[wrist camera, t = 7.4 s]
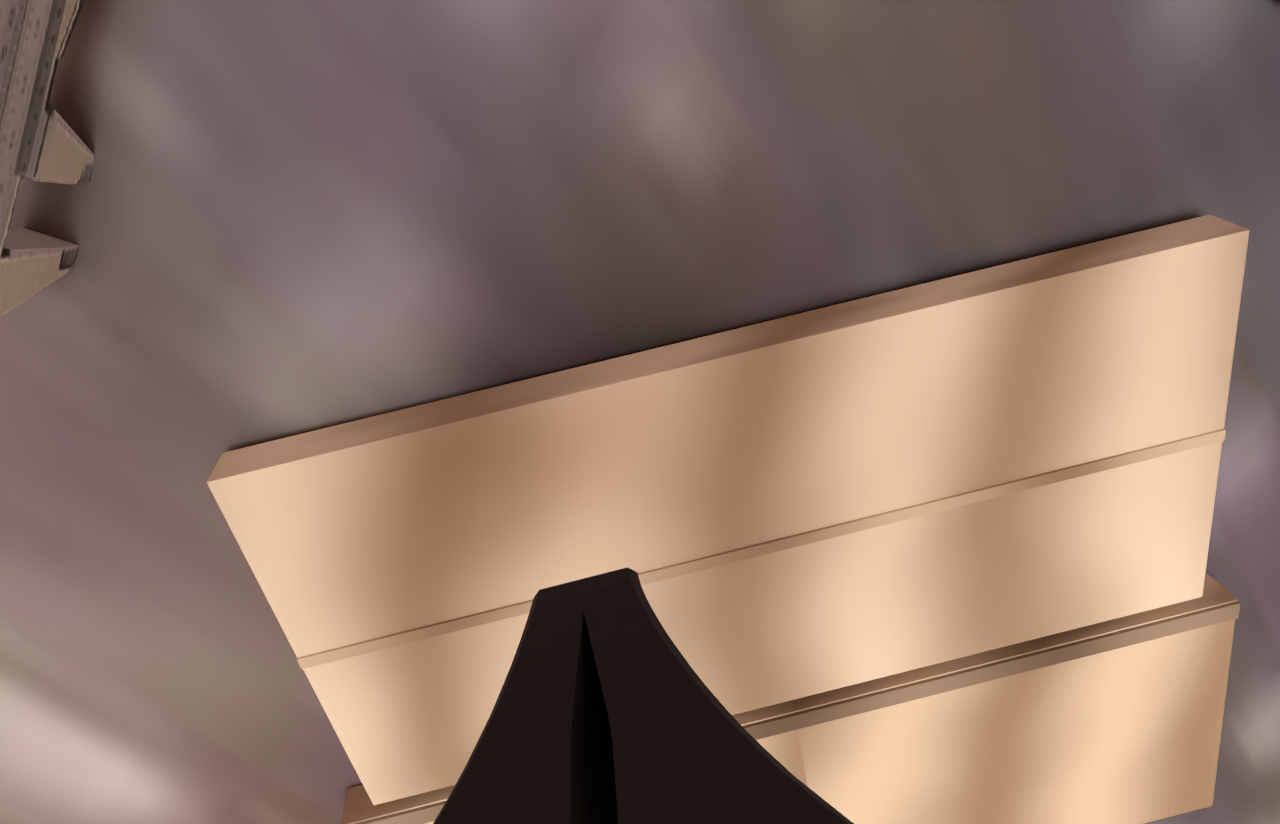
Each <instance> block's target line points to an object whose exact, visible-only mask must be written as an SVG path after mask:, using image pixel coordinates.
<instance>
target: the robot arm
mask: <svg viewBox="0 0 1280 824" xmlns="http://www.w3.org/2000/svg"><path fill="white" fill-rule="evenodd" d="M433 824H854V823H853V822H851V821H850V820H849V819H847V818H846V817H845V816H844V815H842V814H841V813H840V812H839V811H837V810H836V809H835V808H834V807H832V806H831V805H830V804H829V803H827V802H826V801H825V800H824V799H822V798H821V797H820V796H819V795H817V794H816V793H815V792H814V791H812V790H811V789H810V788H809V787H807V786H806V785H805V784H804V783H802V782H801V781H800V780H799V779H797V778H796V777H795V776H794V775H793V774H792V773H791V772H790V771H788V770H787V769H786V768H785V767H784V766H783V765H782V764H781V763H780V762H779V761H777V760H776V759H775V758H774V757H773V756H772V755H771V754H770V753H769V752H768V751H767V750H766V749H764V748H763V747H762V746H761V745H760V744H759V743H758V742H757V741H756V740H755V739H754V738H753V737H752V736H751V735H750V734H749V733H748V732H747V731H746V730H745V729H744V728H743V727H742V726H741V725H740V723H739V722H738V721H737V720H736V719H735V718H734V717H733V716H732V715H731V714H730V713H729V712H728V711H727V709H726V708H725V707H724V706H723V705H722V704H721V703H720V702H719V700H718V699H717V698H716V697H715V696H714V694H713V693H712V692H711V691H710V690H709V689H708V687H707V686H706V685H705V684H704V683H703V681H702V680H701V679H700V678H699V676H698V675H697V674H696V673H695V671H694V670H693V669H692V668H691V666H690V665H689V664H688V662H687V661H686V659H685V658H684V657H683V655H682V654H681V652H680V651H679V650H678V648H677V647H676V646H675V644H674V643H673V641H672V640H671V639H670V637H669V636H668V634H667V633H666V631H665V629H664V628H663V626H662V625H661V623H660V621H659V620H658V618H657V616H656V615H655V613H654V611H653V610H652V608H651V606H650V604H649V602H648V600H647V598H646V596H645V594H644V591H643V589H642V586H641V584H640V580H639V576H638V572H636V571H634V570H632V569H630V568H628V567H627V568H623V569H619V570H615V571H611V572H607V573H603V574H599V575H595V576H592V577H588V578H584V579H580V580H576V581H572V582H568V583H564V584H560V585H556V586H552V587H548V588H544V589H540V590H539V591H538V592H537V594H536V595H535V597H534V598H533V601H532V605H531V609H530V612H529V615H528V619H527V622H526V625H525V628H524V631H523V634H522V637H521V640H520V643H519V645H518V648H517V651H516V654H515V656H514V659H513V662H512V664H511V667H510V669H509V672H508V674H507V677H506V679H505V681H504V684H503V686H502V689H501V691H500V694H499V696H498V698H497V701H496V703H495V706H494V708H493V710H492V712H491V715H490V717H489V719H488V721H487V723H486V725H485V727H484V729H483V731H482V733H481V736H480V738H479V740H478V742H477V744H476V746H475V748H474V750H473V752H472V754H471V756H470V758H469V760H468V762H467V764H466V766H465V768H464V770H463V772H462V774H461V776H460V777H459V779H458V781H457V783H456V785H455V787H454V788H453V790H452V792H451V794H450V796H449V797H448V799H447V801H446V803H445V804H444V806H443V808H442V809H441V811H440V813H439V814H438V816H437V818H436V819H435V821H434V823H433Z"/></svg>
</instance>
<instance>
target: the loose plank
mask: <svg viewBox="0 0 1280 824" xmlns="http://www.w3.org/2000/svg"><path fill="white" fill-rule="evenodd" d="M1248 238H1249V229H1246V228H1244V227H1241V226H1238V225H1236V224H1233V223H1231V222H1228V221H1225V220H1223V219H1220V218H1218V217H1215V216H1212V215H1206V216H1201V217H1197V218H1193V219H1189V220H1185V221H1181V222H1177V223H1172V224H1168V225H1164V226H1160V227H1156V228H1152V229H1148V230H1143V231H1139V232H1135V233H1131V234H1127V235H1123V236H1119V237H1114V238H1110V239H1106V240H1102V241H1098V242H1094V243H1090V244H1085V245H1081V246H1077V247H1073V248H1069V249H1065V250H1061V251H1056V252H1052V253H1048V254H1044V255H1040V256H1036V257H1032V258H1027V259H1023V260H1019V261H1015V262H1011V263H1007V264H1003V265H998V266H994V267H990V268H986V269H982V270H978V271H974V272H970V273H965V274H961V275H957V276H953V277H949V278H945V279H941V280H936V281H932V282H928V283H924V284H920V285H916V286H912V287H907V288H903V289H899V290H895V291H891V292H887V293H883V294H878V295H874V296H870V297H866V298H862V299H858V300H854V301H849V302H845V303H841V304H837V305H833V306H829V307H825V308H820V309H816V310H812V311H808V312H804V313H800V314H796V315H791V316H787V317H783V318H779V319H775V320H771V321H767V322H762V323H758V324H754V325H750V326H746V327H742V328H738V329H733V330H729V331H725V332H721V333H717V334H713V335H709V336H704V337H700V338H696V339H692V340H688V341H684V342H680V343H675V344H671V345H667V346H663V347H659V348H655V349H651V350H646V351H642V352H638V353H634V354H630V355H626V356H622V357H617V358H613V359H609V360H605V361H601V362H597V363H593V364H588V365H584V366H580V367H576V368H572V369H568V370H564V371H559V372H555V373H551V374H547V375H543V376H539V377H535V378H530V379H526V380H522V381H518V382H514V383H510V384H506V385H501V386H497V387H493V388H489V389H485V390H481V391H477V392H472V393H468V394H464V395H460V396H456V397H452V398H448V399H443V400H439V401H435V402H431V403H427V404H423V405H419V406H414V407H410V408H406V409H402V410H398V411H394V412H390V413H385V414H381V415H377V416H373V417H369V418H365V419H361V420H356V421H352V422H348V423H344V424H340V425H336V426H332V427H327V428H323V429H319V430H315V431H311V432H307V433H303V434H298V435H294V436H290V437H286V438H282V439H278V440H274V441H269V442H265V443H261V444H257V445H253V446H249V447H245V448H240V449H236V450H232V451H228V452H224V453H222V455H221V457H220V459H219V461H218V462H217V464H216V466H215V468H214V470H213V472H212V473H211V475H210V477H209V479H208V481H207V484H208V486H209V488H210V490H211V492H212V494H213V496H214V498H215V500H216V501H217V503H218V505H219V507H220V509H221V511H222V513H223V515H224V517H225V519H226V521H227V523H228V525H229V527H230V529H231V530H232V532H233V534H234V536H235V538H236V540H237V542H238V544H239V546H240V548H241V550H242V552H243V554H244V556H245V558H246V559H247V561H248V563H249V565H250V567H251V569H252V571H253V573H254V575H255V577H256V579H257V581H258V583H259V585H260V587H261V589H262V590H263V592H264V594H265V596H266V598H267V600H268V602H269V604H270V606H271V608H272V610H273V612H274V614H275V616H276V618H277V619H278V621H279V623H280V625H281V627H282V629H283V631H284V633H285V635H286V637H287V639H288V641H289V643H290V645H291V647H292V648H293V650H294V652H295V654H296V656H297V661H298V663H299V665H300V667H301V669H303V670H304V672H305V674H306V676H307V677H308V679H309V681H310V683H311V685H312V687H313V689H314V691H315V693H316V695H317V697H318V699H319V701H320V703H321V705H322V706H323V708H324V710H325V712H326V714H327V716H328V718H329V720H330V722H331V724H332V726H333V728H334V730H335V732H336V734H337V735H338V737H339V739H340V741H341V743H342V745H343V747H344V749H345V751H346V753H347V755H348V757H349V759H350V761H351V763H352V765H353V766H354V768H355V770H356V772H357V774H358V776H359V778H360V780H361V782H362V784H363V786H364V788H365V790H366V792H367V794H368V795H369V797H370V799H371V801H372V803H373V805H377V804H381V803H385V802H389V801H393V800H397V799H401V798H405V797H409V796H413V795H417V794H421V793H425V792H429V791H433V790H437V789H441V788H445V787H449V786H453V785H456V783H457V781H458V779H459V777H460V776H461V774H462V772H463V770H464V768H465V766H466V764H467V762H468V760H469V758H470V756H471V754H472V752H473V750H474V748H475V746H476V744H477V742H478V740H479V738H480V736H481V733H482V731H483V729H484V727H485V725H486V723H487V721H488V719H489V717H490V715H491V712H492V710H493V708H494V706H495V703H496V701H497V698H498V696H499V694H500V691H501V689H502V686H503V684H504V681H505V679H506V677H507V674H508V672H509V669H510V667H511V664H512V662H513V659H514V656H515V654H516V651H517V648H518V645H519V643H520V640H521V637H522V634H523V631H524V628H525V625H526V622H527V619H528V615H529V612H530V609H531V605H532V601H533V598H534V597H535V595H536V594H537V592H538V591H539V590H540V589H544V588H548V587H552V586H556V585H560V584H564V583H568V582H572V581H576V580H580V579H584V578H588V577H592V576H595V575H599V574H603V573H607V572H611V571H615V570H619V569H623V568H627V567H628V568H630V569H632V570H634V571H636V572H638V576H639V580H640V584H641V586H642V589H643V591H644V594H645V596H646V598H647V600H648V602H649V604H650V606H651V608H652V610H653V611H654V613H655V615H656V616H657V618H658V620H659V621H660V623H661V625H662V626H663V628H664V629H665V631H666V633H667V634H668V636H669V637H670V639H671V640H672V641H673V643H674V644H675V646H676V647H677V648H678V650H679V651H680V652H681V654H682V655H683V657H684V658H685V659H686V661H687V662H688V664H689V665H690V666H691V668H692V669H693V670H694V671H695V673H696V674H697V675H698V676H699V678H700V679H701V680H702V681H703V683H704V684H705V685H706V686H707V687H708V689H709V690H710V691H711V692H712V693H713V694H714V696H715V697H716V698H717V699H718V700H719V702H720V703H721V704H722V705H723V706H724V707H725V708H726V709H727V711H728V712H729V713H730V714H731V715H735V714H739V713H743V712H747V711H751V710H755V709H759V708H763V707H767V706H771V705H775V704H779V703H783V702H787V701H791V700H795V699H799V698H803V697H806V696H810V695H814V694H818V693H822V692H826V691H830V690H834V689H838V688H842V687H846V686H850V685H854V684H858V683H862V682H866V681H870V680H874V679H878V678H882V677H886V676H890V675H894V674H898V673H902V672H906V671H910V670H914V669H918V668H922V667H926V666H930V665H934V664H938V663H942V662H946V661H950V660H953V659H957V658H961V657H965V656H969V655H973V654H977V653H981V652H985V651H989V650H993V649H997V648H1001V647H1005V646H1009V645H1013V644H1017V643H1021V642H1025V641H1029V640H1033V639H1037V638H1041V637H1045V636H1049V635H1053V634H1057V633H1061V632H1065V631H1069V630H1073V629H1077V628H1081V627H1085V626H1089V625H1093V624H1096V623H1100V622H1104V621H1108V620H1112V619H1116V618H1120V617H1124V616H1128V615H1132V614H1136V613H1140V612H1144V611H1148V610H1152V609H1156V608H1160V607H1164V606H1168V605H1172V604H1176V603H1180V602H1184V601H1188V600H1192V599H1196V598H1200V597H1202V595H1203V587H1204V579H1205V572H1206V564H1207V556H1208V548H1209V540H1210V533H1211V525H1212V517H1213V509H1214V502H1215V494H1216V486H1217V478H1218V471H1219V463H1220V455H1221V447H1222V441H1225V434H1226V430H1225V429H1224V424H1225V416H1226V409H1227V401H1228V393H1229V385H1230V378H1231V370H1232V362H1233V354H1234V346H1235V339H1236V331H1237V323H1238V315H1239V308H1240V300H1241V292H1242V284H1243V277H1244V269H1245V261H1246V253H1247V246H1248Z"/></svg>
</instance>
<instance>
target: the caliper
mask: <svg viewBox="0 0 1280 824" xmlns="http://www.w3.org/2000/svg"><path fill="white" fill-rule="evenodd" d="M83 2H84V0H0V317H2V316H3V315H5V314H6V313H8V312H9V311H11V310H12V309H14V308H16V307H17V306H19V305H20V304H22V303H23V302H25V301H26V300H28V299H30V298H31V297H33V296H34V295H36V294H37V293H39V292H40V291H42V290H43V289H45V288H47V287H48V286H50V285H51V284H52V283H54V282H55V281H57V280H58V279H59V278H61V277H62V276H64V275H65V274H66V273H67V272H68V271H69V269H70V267H71V265H72V263H73V261H74V259H75V256H76V253H77V250H78V247H79V245H76V244H73V243H70V242H67V241H64V240H60V239H57V238H54V237H51V236H48V235H45V234H42V233H38V232H35V231H32V230H29V229H26V228H12V229H9V225H10V222H11V217H12V213H13V209H14V204H15V200H16V196H17V191H18V187H19V182H20V179H22V178H27V179H30V180H33V181H38V182H49V183H59V184H70V185H71V184H76V183H77V182H78V180H82V181H86V182H90V180H91V174H92V168H93V162H94V154H93V153H92V152H91V150H90V149H89V148H88V147H87V146H86V145H85V144H84V142H83V141H82V140H81V139H80V138H79V137H78V136H77V134H76V133H75V132H74V131H73V130H72V129H71V128H70V126H69V125H68V124H67V123H66V122H65V121H64V120H63V118H62V117H61V116H60V115H59V114H58V113H57V112H56V110H55V109H54V108H53V107H52V106H51V105H50V104H49V98H50V94H51V89H52V85H53V80H54V76H55V71H56V67H57V62H58V59H59V58H61V57H62V56H63V55H64V52H65V50H66V47H67V44H68V42H69V39H70V37H71V34H72V31H73V29H74V26H75V23H76V21H77V18H78V15H79V13H80V10H81V8H82V5H83Z"/></svg>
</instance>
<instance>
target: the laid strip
mask: <svg viewBox="0 0 1280 824" xmlns="http://www.w3.org/2000/svg"><path fill="white" fill-rule="evenodd" d="M1239 608H1240V603H1239V602H1238V601H1237V599H1236V598H1235V597H1234V596H1233V595H1232V594H1230V593H1229V592H1228V591H1227V590H1226V589H1225V588H1224V587H1222V586H1221V585H1220V584H1219V583H1218V582H1217V581H1215V580H1214V579H1213V578H1212V577H1211V576H1210V575H1208V574H1207V573H1205V579H1204V587H1203V595H1202V597H1200V598H1196V599H1192V600H1188V601H1184V602H1180V603H1176V604H1172V605H1168V606H1164V607H1160V608H1156V609H1152V610H1148V611H1144V612H1140V613H1136V614H1132V615H1128V616H1124V617H1120V618H1116V619H1112V620H1108V621H1104V622H1100V623H1096V624H1093V625H1089V626H1085V627H1081V628H1077V629H1073V630H1069V631H1065V632H1061V633H1057V634H1053V635H1049V636H1045V637H1041V638H1037V639H1033V640H1029V641H1025V642H1021V643H1017V644H1013V645H1009V646H1005V647H1001V648H997V649H993V650H989V651H985V652H981V653H977V654H973V655H969V656H965V657H961V658H957V659H953V660H950V661H946V662H942V663H938V664H934V665H930V666H926V667H922V668H918V669H914V670H910V671H906V672H902V673H898V674H894V675H890V676H886V677H882V678H878V679H874V680H870V681H866V682H862V683H858V684H854V685H850V686H846V687H842V688H838V689H834V690H830V691H826V692H822V693H818V694H814V695H810V696H806V697H803V698H799V699H795V700H791V701H787V702H783V703H779V704H775V705H771V706H767V707H763V708H759V709H755V710H751V711H747V712H743V713H739V714H735V715H732V716H733V717H734V718H735V719H736V720H737V721H738V722H739V723H740V725H741V726H742V727H743V728H744V729H745V730H746V731H747V732H748V733H749V734H750V735H751V736H752V737H753V738H754V739H755V740H756V741H757V742H758V743H759V744H760V745H761V746H762V747H763V748H764V749H766V750H767V751H768V752H769V753H770V754H771V755H772V756H773V757H774V758H775V759H776V760H777V761H779V762H780V763H781V764H782V765H783V766H784V767H785V768H786V769H787V770H788V771H790V772H791V773H792V774H793V775H794V776H795V777H796V778H797V779H799V780H800V781H801V782H802V783H804V784H805V785H806V786H807V787H809V788H810V789H811V790H812V791H814V792H815V793H816V794H817V795H819V796H820V797H821V798H822V799H824V800H825V801H826V802H827V803H829V804H830V805H831V806H832V807H834V808H835V809H836V810H837V811H839V812H840V813H841V814H842V815H844V816H845V817H846V818H847V819H849V820H850V821H851V822H853V823H854V824H1143V823H1147V822H1151V821H1155V820H1159V819H1163V818H1167V817H1171V816H1174V815H1178V814H1182V813H1186V812H1190V811H1194V810H1198V809H1202V808H1205V807H1209V806H1212V803H1213V795H1214V787H1215V779H1216V770H1217V762H1218V754H1219V746H1220V738H1221V730H1222V722H1223V714H1224V706H1225V697H1226V689H1227V681H1228V673H1229V665H1230V657H1231V649H1232V641H1233V633H1234V624H1235V619H1237V618H1238V616H1239ZM454 787H455V785H453V786H449V787H445V788H441V789H437V790H433V791H429V792H425V793H421V794H417V795H413V796H409V797H405V798H401V799H397V800H393V801H389V802H385V803H381V804H377V805H373V803H372V801H371V799H370V797H369V795H368V794H367V792H366V790H365V788H364V786H363V784H362V785H358V786H354V787H350V788H348V792H347V797H346V802H345V806H344V811H343V816H342V821H341V824H433V823H434V821H435V819H436V818H437V816H438V814H439V813H440V811H441V809H442V808H443V806H444V804H445V803H446V801H447V799H448V797H449V796H450V794H451V792H452V790H453V788H454Z"/></svg>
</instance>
